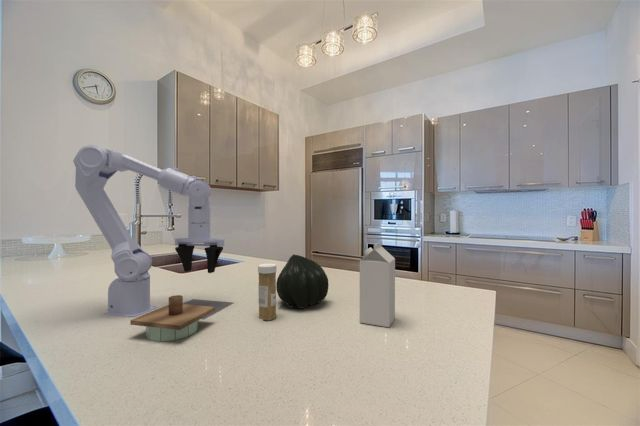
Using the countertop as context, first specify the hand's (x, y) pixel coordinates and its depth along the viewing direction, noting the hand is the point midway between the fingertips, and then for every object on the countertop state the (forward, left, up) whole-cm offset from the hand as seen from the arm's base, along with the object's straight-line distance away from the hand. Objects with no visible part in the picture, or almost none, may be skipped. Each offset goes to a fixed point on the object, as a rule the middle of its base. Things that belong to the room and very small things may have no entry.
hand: (199, 271), depth 83 cm
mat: (+1, -2, -10) cm, 10 cm away
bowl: (+6, -17, -10) cm, 21 cm away
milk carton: (+49, +2, -10) cm, 50 cm away
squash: (+27, +10, -10) cm, 31 cm away
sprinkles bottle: (+22, -3, -10) cm, 24 cm away
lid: (+6, -16, -7) cm, 19 cm away
